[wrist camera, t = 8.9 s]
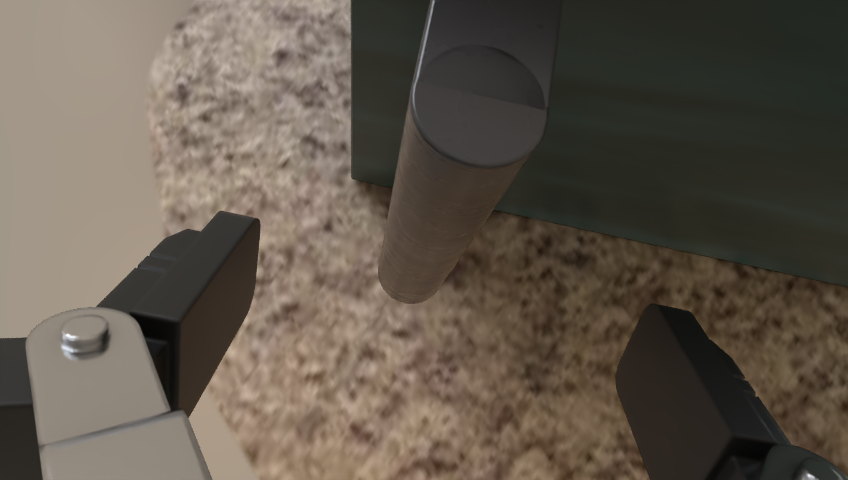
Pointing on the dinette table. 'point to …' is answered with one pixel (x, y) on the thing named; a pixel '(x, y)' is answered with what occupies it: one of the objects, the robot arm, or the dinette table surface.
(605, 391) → the dinette table surface
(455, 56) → the door
